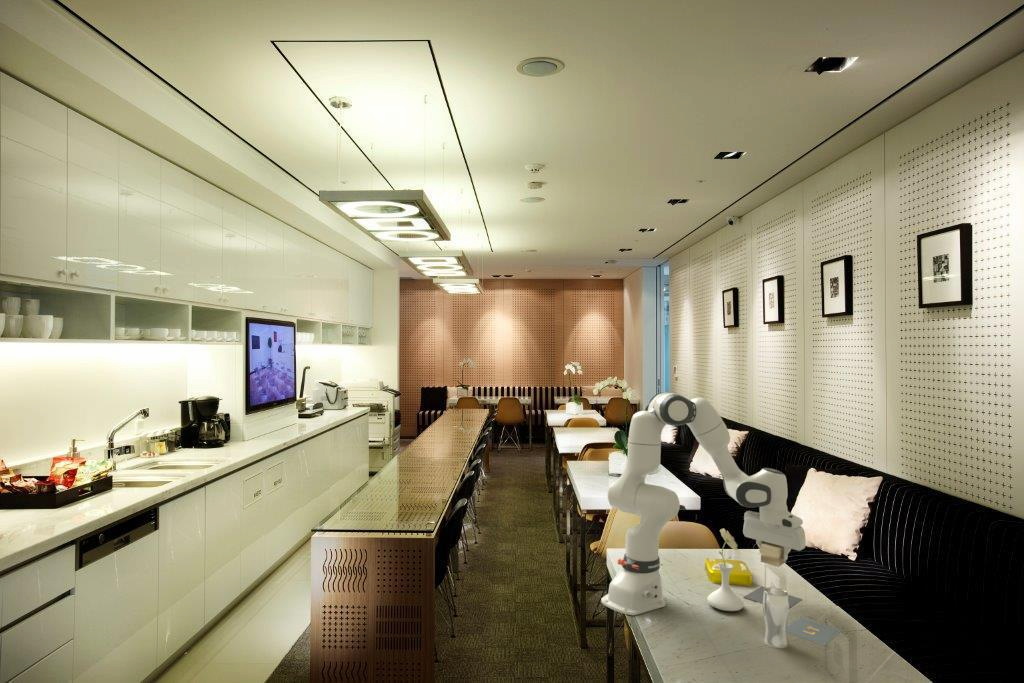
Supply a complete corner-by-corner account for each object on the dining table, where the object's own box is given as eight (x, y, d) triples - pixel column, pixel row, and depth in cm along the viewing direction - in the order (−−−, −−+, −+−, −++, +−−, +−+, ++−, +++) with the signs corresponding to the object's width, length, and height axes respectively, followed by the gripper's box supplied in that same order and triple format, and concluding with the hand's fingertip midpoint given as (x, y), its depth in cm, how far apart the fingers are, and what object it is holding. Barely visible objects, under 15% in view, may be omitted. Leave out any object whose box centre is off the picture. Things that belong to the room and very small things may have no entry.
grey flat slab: (824, 646, 166) (824, 645, 166) (781, 631, 175) (781, 630, 175) (841, 631, 175) (841, 630, 175) (800, 617, 184) (800, 616, 184)
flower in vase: (746, 616, 184) (747, 538, 184) (709, 612, 186) (710, 535, 187) (739, 599, 197) (739, 526, 197) (704, 596, 199) (705, 523, 199)
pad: (784, 611, 188) (784, 610, 188) (743, 597, 198) (743, 596, 198) (802, 599, 197) (802, 599, 197) (761, 587, 207) (761, 586, 207)
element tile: (753, 587, 208) (753, 574, 208) (709, 583, 211) (709, 570, 211) (744, 571, 223) (744, 559, 223) (703, 568, 226) (703, 556, 226)
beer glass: (766, 635, 172) (766, 584, 172) (791, 642, 168) (791, 591, 168) (759, 644, 167) (759, 592, 167) (785, 652, 162) (785, 599, 162)
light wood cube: (778, 566, 194) (778, 549, 194) (760, 561, 198) (760, 544, 198) (785, 562, 198) (785, 544, 198) (768, 557, 202) (768, 540, 202)
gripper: (740, 511, 204) (739, 550, 204) (800, 524, 188) (800, 566, 188) (748, 507, 208) (748, 545, 208) (807, 520, 193) (807, 562, 193)
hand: (773, 556), depth 198 cm, fingers closed on light wood cube, 6 cm apart
